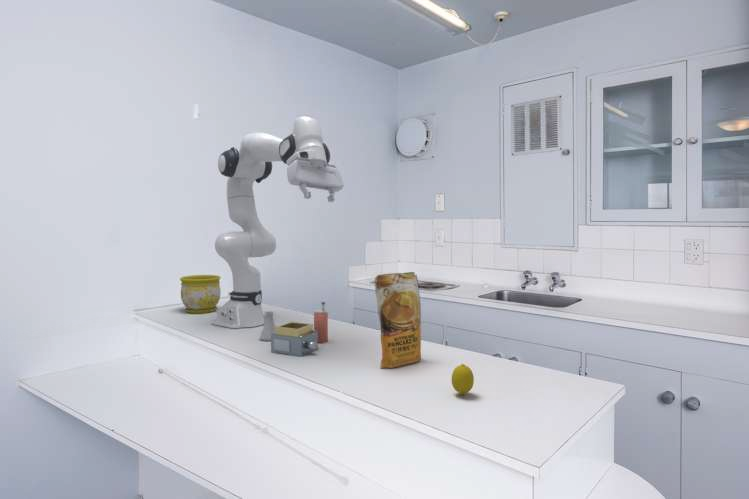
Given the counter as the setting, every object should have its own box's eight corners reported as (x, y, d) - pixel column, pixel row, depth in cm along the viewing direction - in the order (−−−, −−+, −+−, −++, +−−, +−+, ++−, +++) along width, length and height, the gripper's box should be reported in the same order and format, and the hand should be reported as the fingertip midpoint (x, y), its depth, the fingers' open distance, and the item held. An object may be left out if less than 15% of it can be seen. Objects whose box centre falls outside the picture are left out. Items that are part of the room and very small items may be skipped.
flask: (274, 342, 169) (274, 314, 169) (255, 340, 171) (255, 313, 170) (282, 337, 177) (282, 310, 176) (264, 336, 178) (264, 310, 177)
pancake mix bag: (367, 365, 143) (368, 274, 141) (415, 355, 154) (415, 270, 152) (381, 371, 137) (382, 276, 135) (429, 360, 149) (430, 272, 147)
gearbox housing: (270, 352, 156) (270, 327, 156) (288, 344, 166) (288, 321, 165) (309, 358, 150) (309, 331, 150) (325, 349, 160) (325, 325, 159)
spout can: (311, 342, 169) (311, 302, 168) (318, 339, 174) (318, 300, 173) (323, 343, 167) (323, 303, 166) (330, 340, 172) (330, 301, 171)
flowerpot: (228, 308, 231) (228, 275, 230) (204, 316, 213) (204, 280, 212) (197, 306, 236) (197, 274, 235) (172, 313, 219) (171, 278, 218)
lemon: (477, 394, 120) (478, 363, 119) (466, 400, 116) (466, 368, 115) (458, 389, 123) (459, 359, 123) (447, 395, 119) (447, 364, 119)
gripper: (332, 170, 164) (339, 206, 161) (281, 160, 150) (288, 200, 147) (343, 162, 160) (350, 199, 156) (292, 151, 146) (299, 191, 142)
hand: (320, 199), depth 152 cm, fingers open, 8 cm apart
